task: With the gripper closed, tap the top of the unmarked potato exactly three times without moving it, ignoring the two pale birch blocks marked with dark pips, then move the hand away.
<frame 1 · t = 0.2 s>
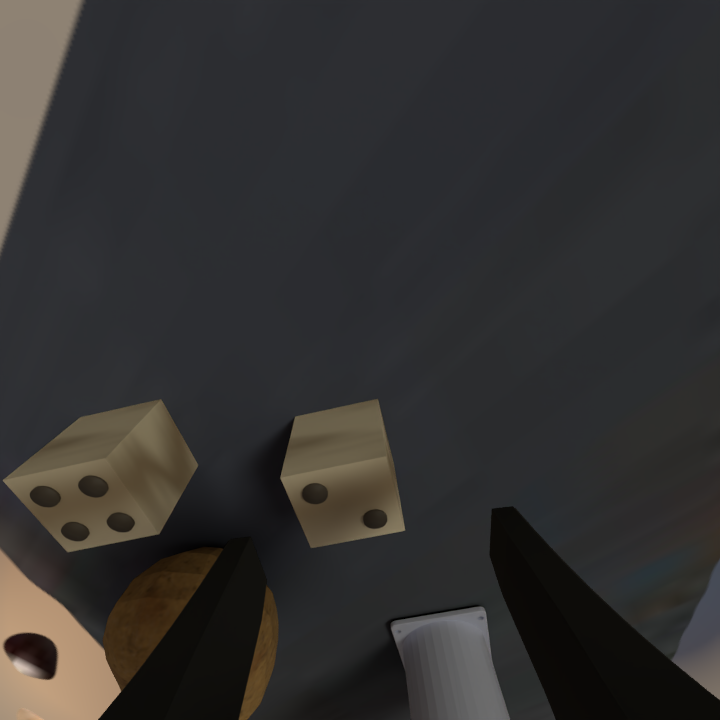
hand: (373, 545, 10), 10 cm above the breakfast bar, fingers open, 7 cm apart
pip block four: (142, 441, 21), on the breakfast bar
pip block two: (346, 440, 21), on the breakfast bar
potato: (226, 572, 26), on the breakfast bar
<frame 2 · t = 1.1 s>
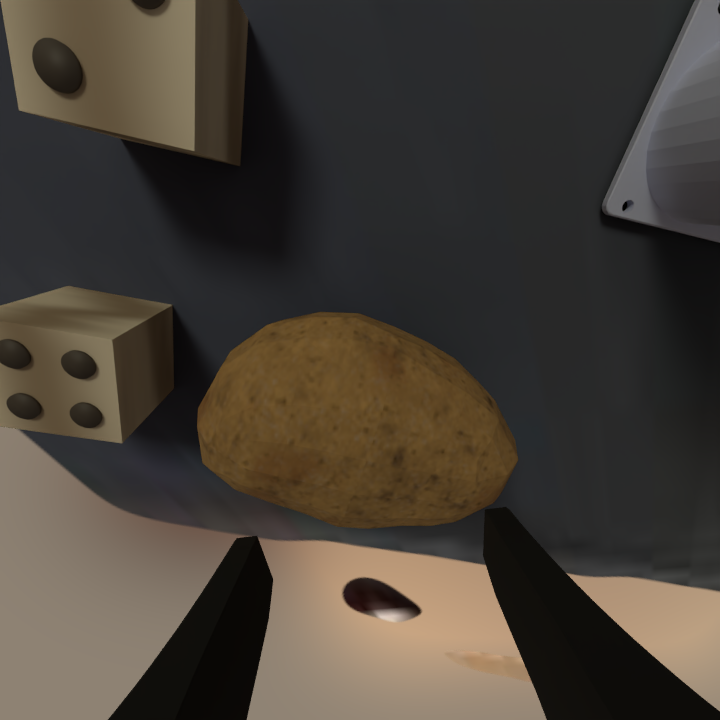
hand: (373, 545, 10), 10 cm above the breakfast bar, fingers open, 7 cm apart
pip block four: (125, 340, 18), on the breakfast bar
pip block two: (181, 82, 14), on the breakfast bar
potato: (361, 379, 20), on the breakfast bar
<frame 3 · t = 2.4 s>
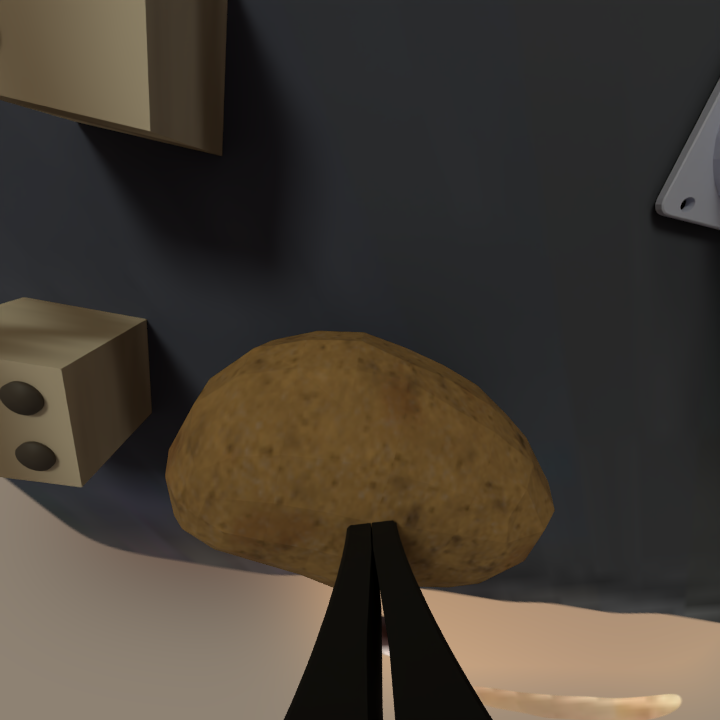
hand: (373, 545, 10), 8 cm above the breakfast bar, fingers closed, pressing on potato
pip block four: (94, 359, 16), on the breakfast bar
pip block two: (148, 52, 11), on the breakfast bar
potato: (366, 401, 18), on the breakfast bar, touching gripper
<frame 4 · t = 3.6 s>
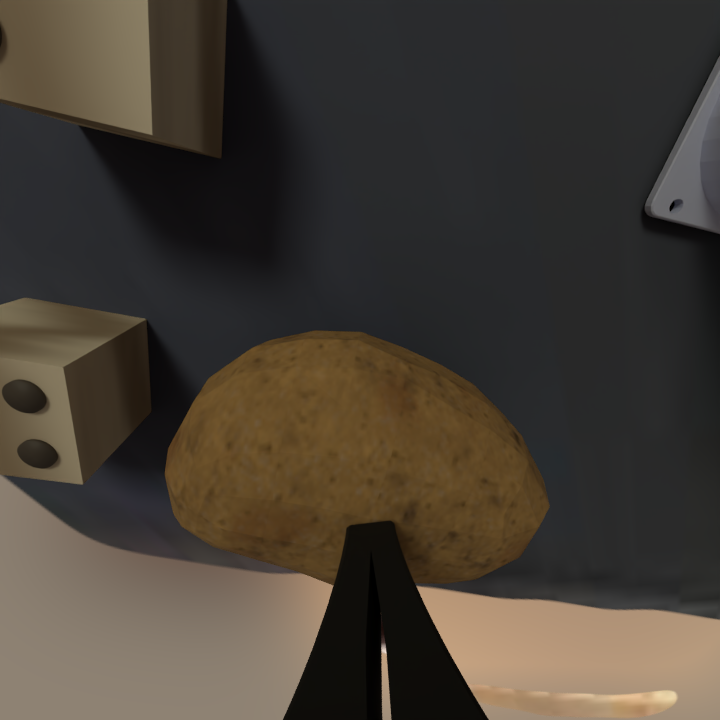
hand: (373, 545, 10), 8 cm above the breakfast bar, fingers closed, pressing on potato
pip block four: (94, 358, 16), on the breakfast bar
pip block two: (149, 57, 12), on the breakfast bar
potato: (363, 401, 18), on the breakfast bar, touching gripper
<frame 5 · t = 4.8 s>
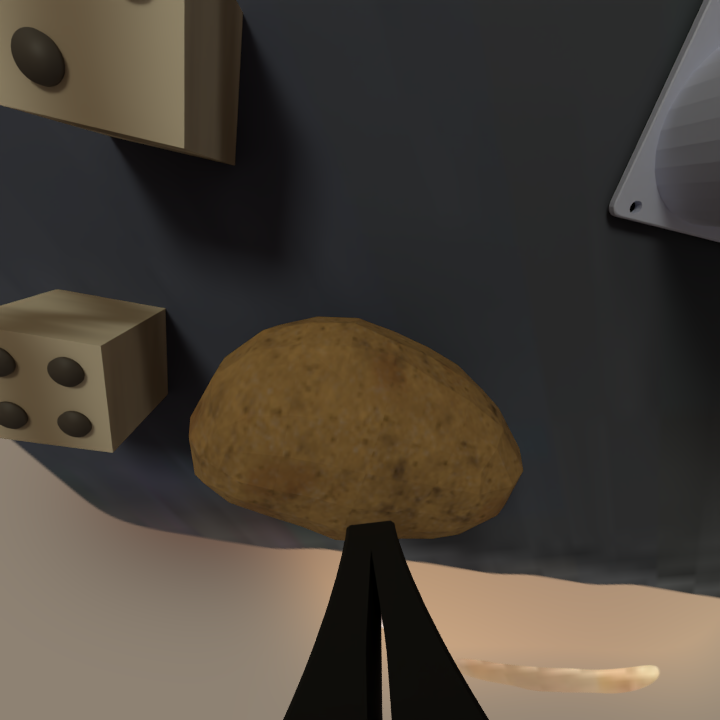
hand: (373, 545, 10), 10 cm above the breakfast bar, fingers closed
pip block four: (117, 344, 18), on the breakfast bar
pip block two: (173, 78, 13), on the breakfast bar
potato: (361, 384, 19), on the breakfast bar
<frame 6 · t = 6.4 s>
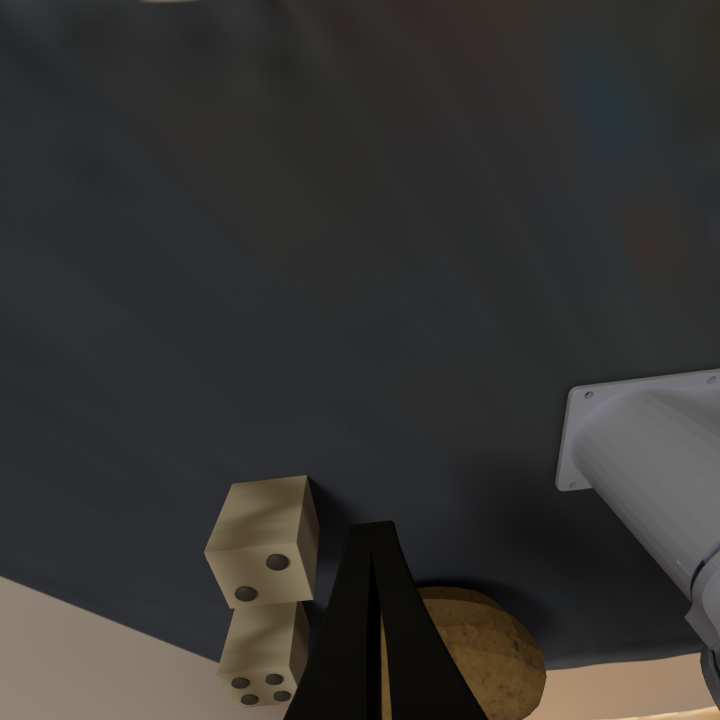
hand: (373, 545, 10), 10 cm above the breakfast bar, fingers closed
pip block four: (275, 612, 29), on the breakfast bar
pip block two: (278, 505, 24), on the breakfast bar
potato: (428, 593, 29), on the breakfast bar
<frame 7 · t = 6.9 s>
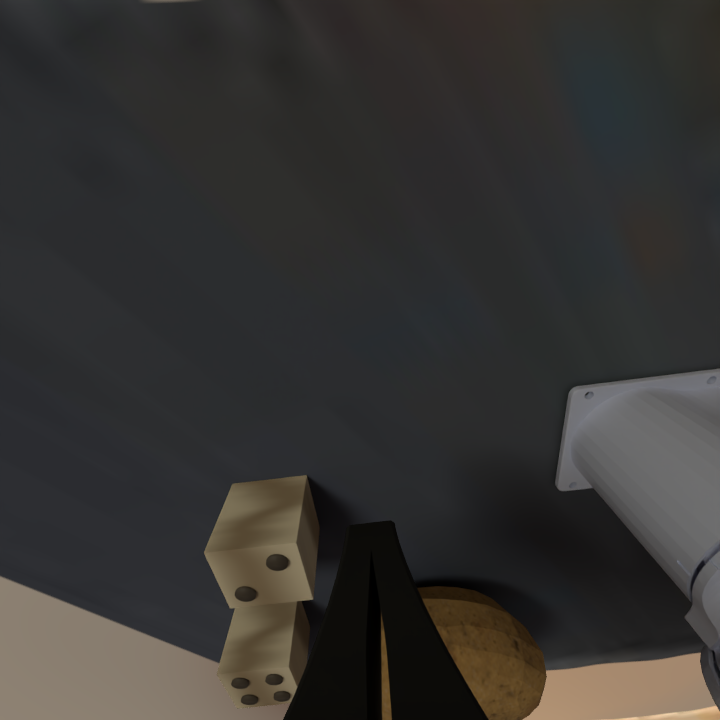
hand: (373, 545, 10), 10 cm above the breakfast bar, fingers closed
pip block four: (275, 612, 29), on the breakfast bar
pip block two: (278, 505, 24), on the breakfast bar
potato: (428, 593, 29), on the breakfast bar
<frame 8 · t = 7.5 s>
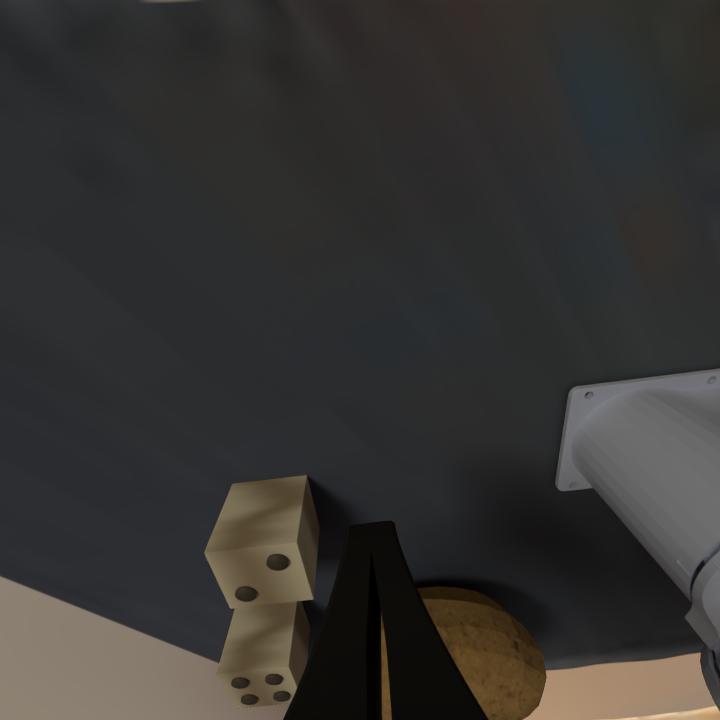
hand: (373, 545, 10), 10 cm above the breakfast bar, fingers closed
pip block four: (275, 612, 29), on the breakfast bar
pip block two: (278, 505, 24), on the breakfast bar
potato: (428, 593, 29), on the breakfast bar
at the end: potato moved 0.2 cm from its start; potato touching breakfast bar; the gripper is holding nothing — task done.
